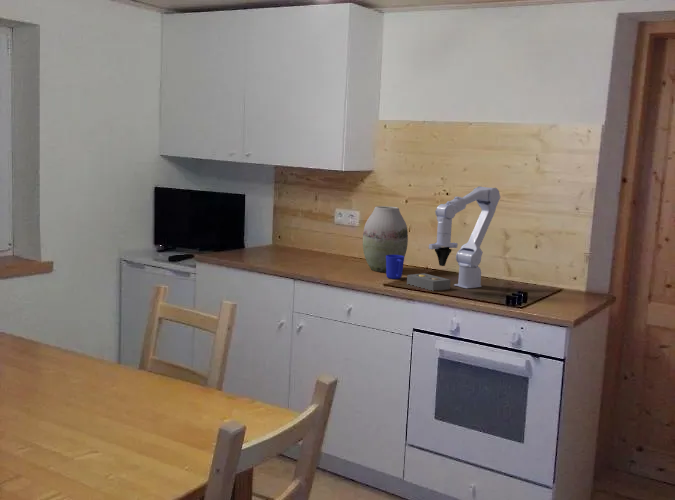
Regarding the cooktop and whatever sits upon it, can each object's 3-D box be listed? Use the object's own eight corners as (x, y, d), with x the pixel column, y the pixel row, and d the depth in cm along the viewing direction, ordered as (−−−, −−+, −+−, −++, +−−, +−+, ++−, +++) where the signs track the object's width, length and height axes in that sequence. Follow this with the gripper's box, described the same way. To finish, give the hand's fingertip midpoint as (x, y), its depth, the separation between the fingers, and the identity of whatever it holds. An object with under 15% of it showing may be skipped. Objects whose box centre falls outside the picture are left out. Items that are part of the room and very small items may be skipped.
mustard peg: (421, 283, 314) (422, 274, 314) (426, 284, 312) (427, 275, 311) (416, 284, 313) (417, 275, 312) (421, 285, 310) (422, 276, 310)
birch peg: (434, 286, 308) (435, 277, 307) (439, 288, 306) (440, 278, 305) (429, 287, 306) (430, 278, 306) (434, 288, 304) (435, 279, 303)
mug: (391, 281, 318) (392, 258, 316) (382, 276, 329) (383, 254, 328) (408, 281, 320) (410, 258, 318) (399, 276, 331) (400, 254, 330)
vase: (395, 266, 360) (398, 205, 355) (413, 273, 340) (417, 209, 335) (354, 266, 353) (357, 204, 348) (370, 274, 333) (374, 209, 329)
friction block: (423, 282, 318) (424, 273, 318) (450, 289, 306) (450, 279, 305) (406, 284, 312) (407, 275, 312) (432, 291, 300) (433, 281, 299)
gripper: (450, 231, 308) (448, 263, 310) (424, 232, 300) (422, 265, 301) (462, 233, 302) (459, 265, 304) (436, 234, 294) (434, 267, 296)
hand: (442, 265), depth 302 cm, fingers closed
